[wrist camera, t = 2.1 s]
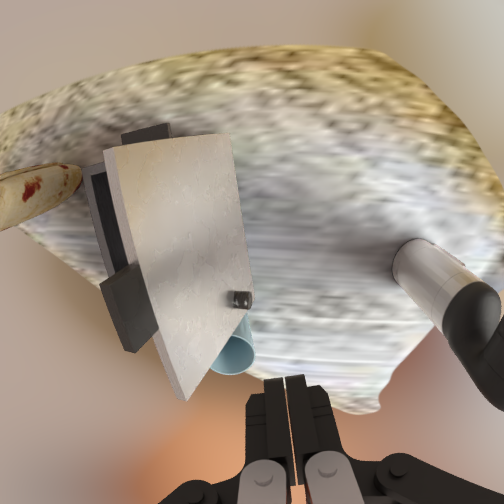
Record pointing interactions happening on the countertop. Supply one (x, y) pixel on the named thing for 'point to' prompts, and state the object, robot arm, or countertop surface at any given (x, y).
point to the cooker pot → (103, 202)
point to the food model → (35, 191)
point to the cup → (236, 351)
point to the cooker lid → (178, 252)
